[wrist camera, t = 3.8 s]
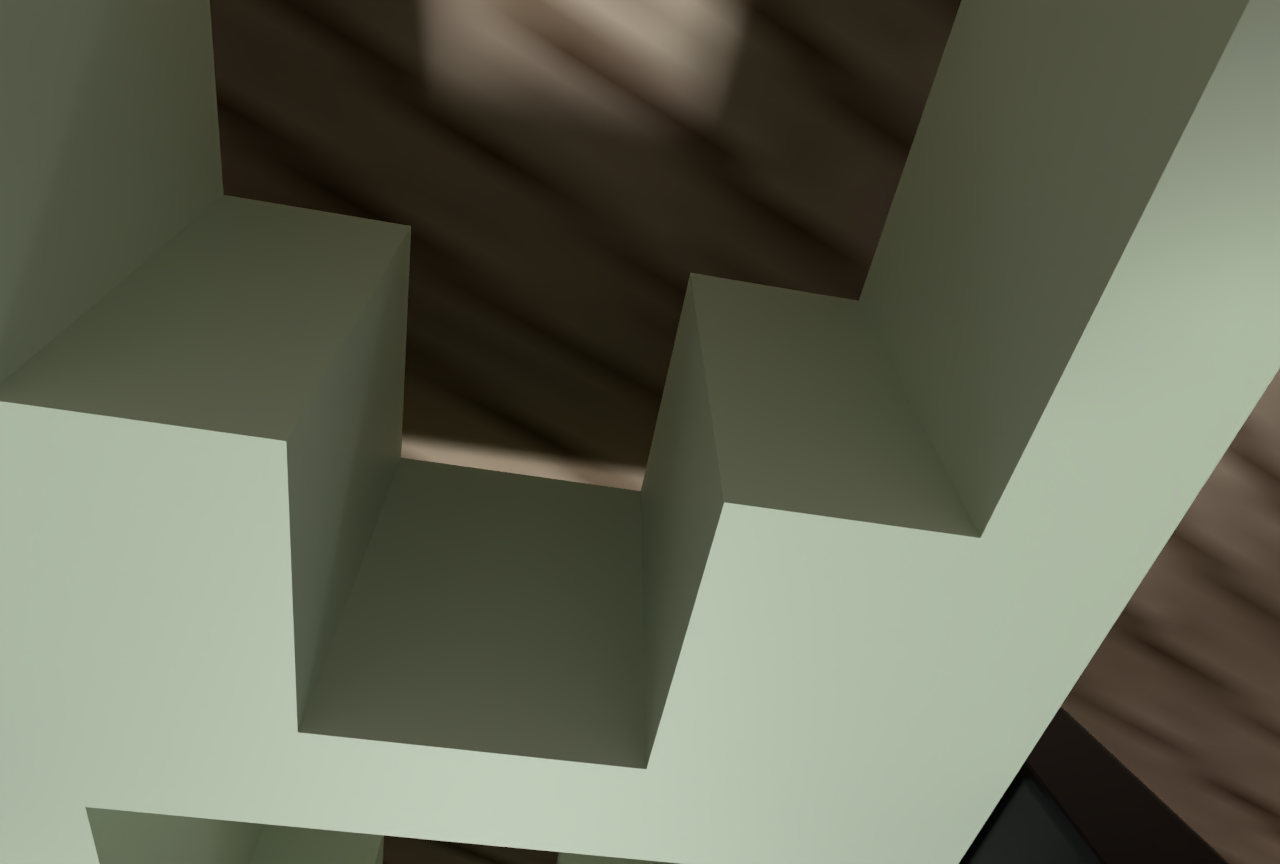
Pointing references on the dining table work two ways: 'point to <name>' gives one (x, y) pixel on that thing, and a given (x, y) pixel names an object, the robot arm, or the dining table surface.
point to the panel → (599, 515)
